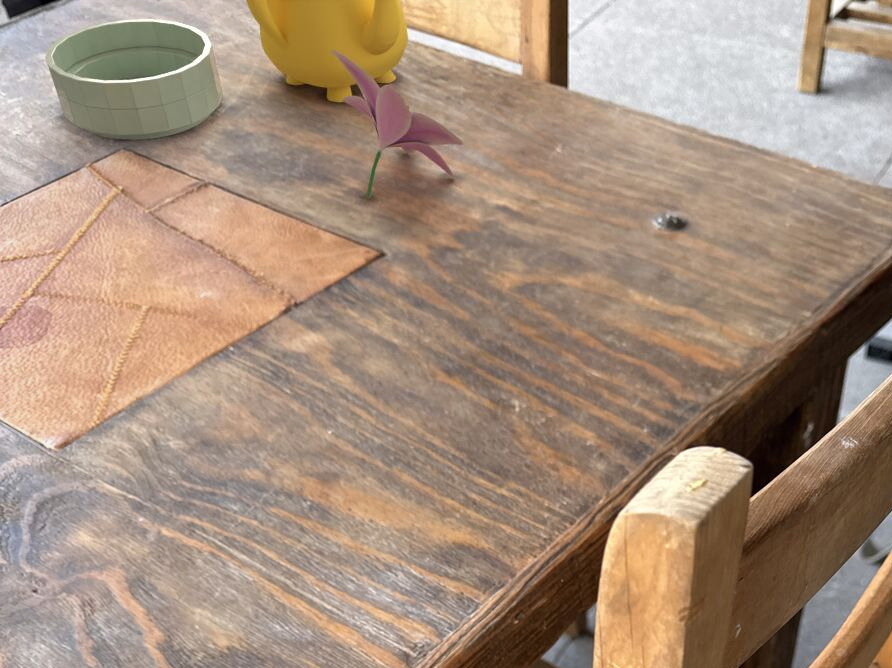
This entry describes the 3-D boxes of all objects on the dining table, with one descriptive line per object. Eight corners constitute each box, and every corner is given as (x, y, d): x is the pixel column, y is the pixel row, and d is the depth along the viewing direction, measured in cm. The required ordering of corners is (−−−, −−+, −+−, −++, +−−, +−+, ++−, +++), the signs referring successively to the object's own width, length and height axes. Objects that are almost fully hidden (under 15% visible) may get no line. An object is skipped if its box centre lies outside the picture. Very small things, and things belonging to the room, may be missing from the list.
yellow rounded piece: (266, 116, 107) (236, -36, 97) (272, 54, 115) (245, -91, 106) (417, 110, 108) (402, -40, 98) (412, 49, 116) (398, -95, 107)
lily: (470, 227, 97) (494, 98, 93) (333, 188, 91) (352, 49, 87) (424, 212, 106) (444, 93, 102) (296, 176, 100) (312, 49, 96)
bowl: (51, 146, 102) (30, 84, 98) (81, 79, 111) (63, 20, 107) (214, 143, 103) (200, 81, 99) (232, 77, 111) (219, 18, 108)
